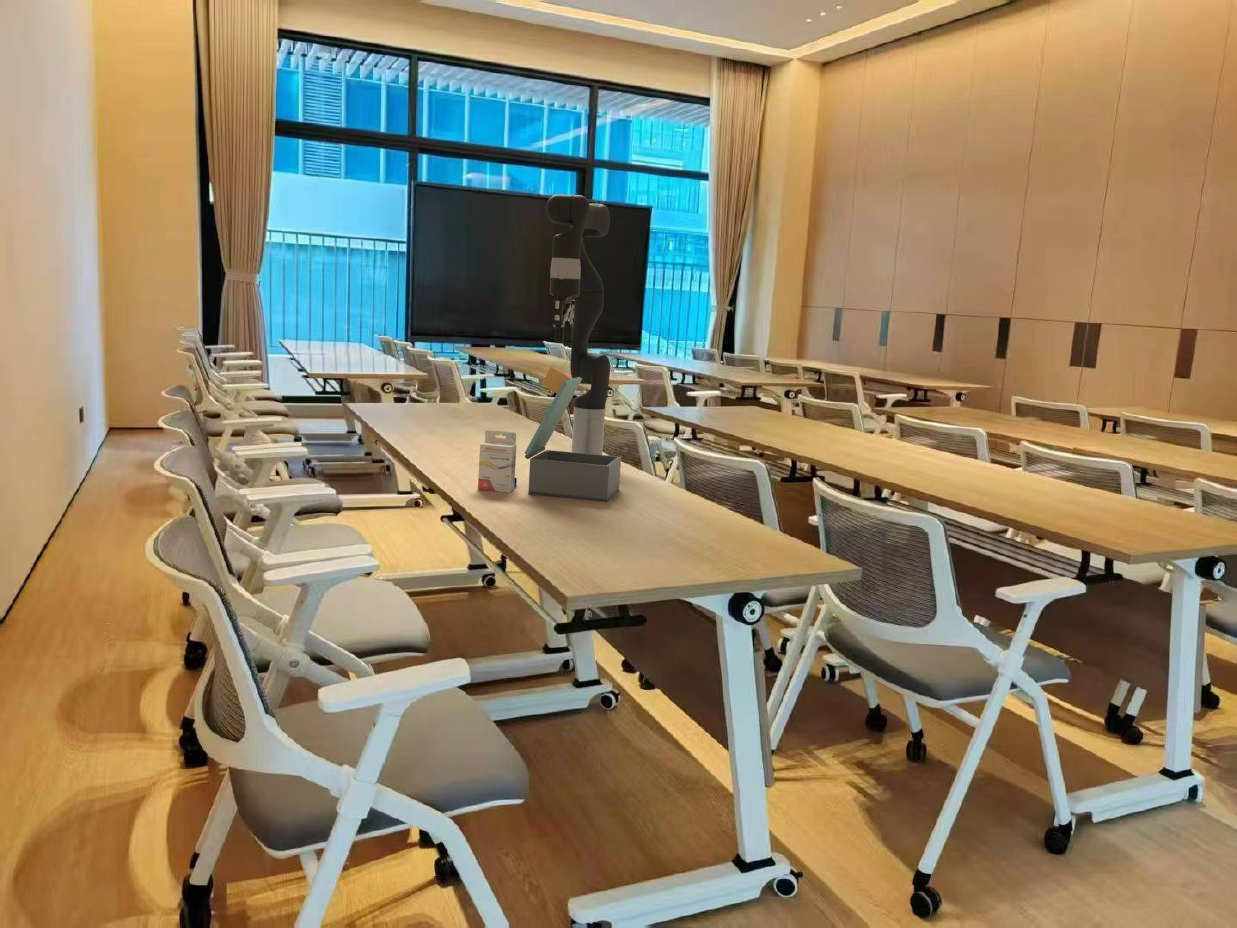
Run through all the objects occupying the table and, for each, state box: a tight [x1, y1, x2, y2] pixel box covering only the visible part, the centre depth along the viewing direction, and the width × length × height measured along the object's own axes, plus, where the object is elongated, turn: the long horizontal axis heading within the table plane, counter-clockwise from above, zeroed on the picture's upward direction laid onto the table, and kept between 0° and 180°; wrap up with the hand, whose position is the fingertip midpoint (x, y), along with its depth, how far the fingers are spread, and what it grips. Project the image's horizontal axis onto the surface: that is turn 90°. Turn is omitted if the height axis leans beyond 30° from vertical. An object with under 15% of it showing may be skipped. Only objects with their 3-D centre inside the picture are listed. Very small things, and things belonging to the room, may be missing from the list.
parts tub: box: [528, 449, 622, 503], centre depth 239 cm, size 16×20×9 cm
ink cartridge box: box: [477, 429, 517, 493], centre depth 236 cm, size 9×5×15 cm, turn 84°
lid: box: [524, 366, 582, 460], centre depth 238 cm, size 17×22×8 cm
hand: (562, 341), depth 239 cm, fingers open, 8 cm apart
